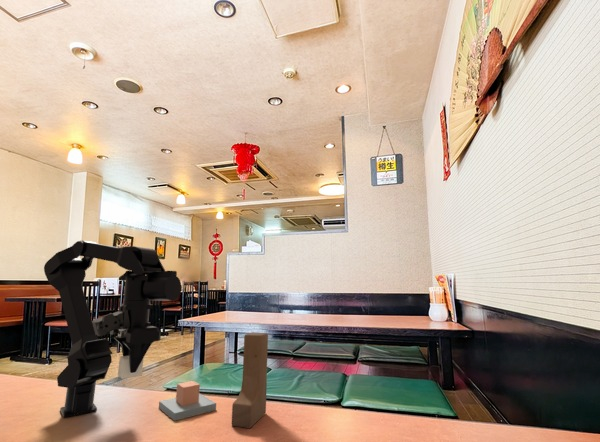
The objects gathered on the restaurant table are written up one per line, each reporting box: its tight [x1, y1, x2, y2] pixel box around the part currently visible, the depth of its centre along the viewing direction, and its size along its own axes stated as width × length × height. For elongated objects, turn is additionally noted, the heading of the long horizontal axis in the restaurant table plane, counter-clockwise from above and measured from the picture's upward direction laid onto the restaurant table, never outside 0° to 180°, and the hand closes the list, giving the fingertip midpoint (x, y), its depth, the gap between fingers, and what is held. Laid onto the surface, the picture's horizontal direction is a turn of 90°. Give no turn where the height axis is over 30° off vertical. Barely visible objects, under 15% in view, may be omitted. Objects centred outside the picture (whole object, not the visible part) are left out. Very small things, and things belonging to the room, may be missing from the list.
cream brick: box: [117, 355, 144, 380], centre depth 75 cm, size 4×4×4 cm
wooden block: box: [231, 331, 269, 429], centre depth 75 cm, size 9×4×18 cm, turn 164°
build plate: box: [158, 392, 217, 422], centre depth 79 cm, size 10×10×2 cm
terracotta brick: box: [175, 380, 201, 406], centre depth 80 cm, size 4×4×4 cm
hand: (130, 370), depth 74 cm, fingers closed on cream brick, 4 cm apart
